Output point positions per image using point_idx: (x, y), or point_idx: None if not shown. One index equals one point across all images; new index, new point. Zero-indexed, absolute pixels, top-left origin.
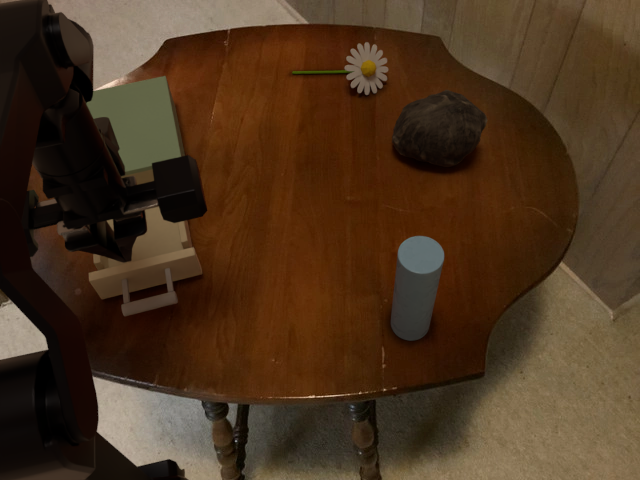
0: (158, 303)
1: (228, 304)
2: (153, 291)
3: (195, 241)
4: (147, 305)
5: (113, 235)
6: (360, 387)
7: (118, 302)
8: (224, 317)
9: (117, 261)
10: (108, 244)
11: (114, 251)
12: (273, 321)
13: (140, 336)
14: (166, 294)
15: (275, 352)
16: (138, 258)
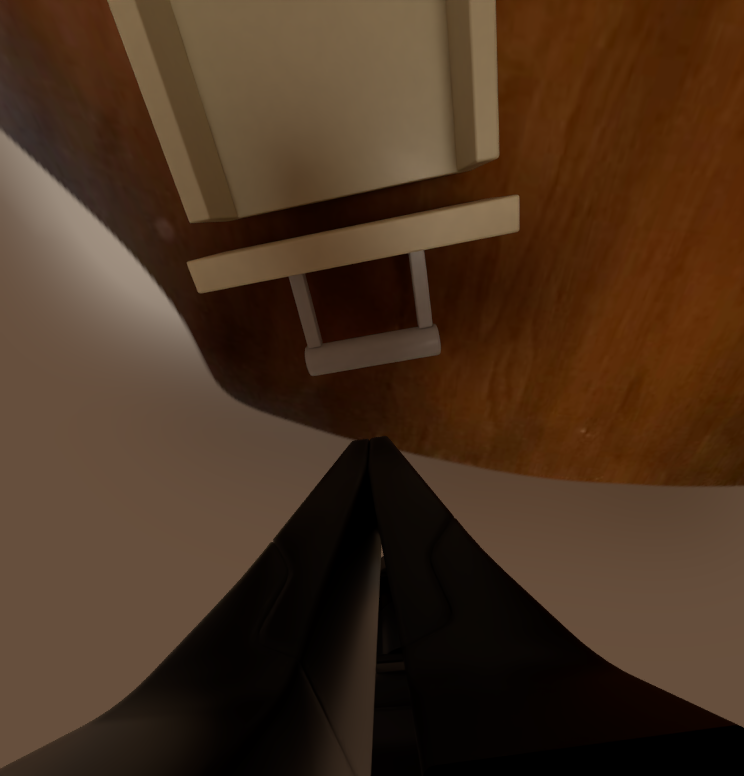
0: (396, 360)
1: (526, 309)
2: None
3: None
4: (370, 364)
5: (351, 569)
6: (702, 483)
7: None
8: (512, 339)
9: (249, 164)
10: (362, 747)
11: (373, 651)
12: (608, 359)
13: None
14: (418, 343)
15: (591, 418)
16: (312, 160)
